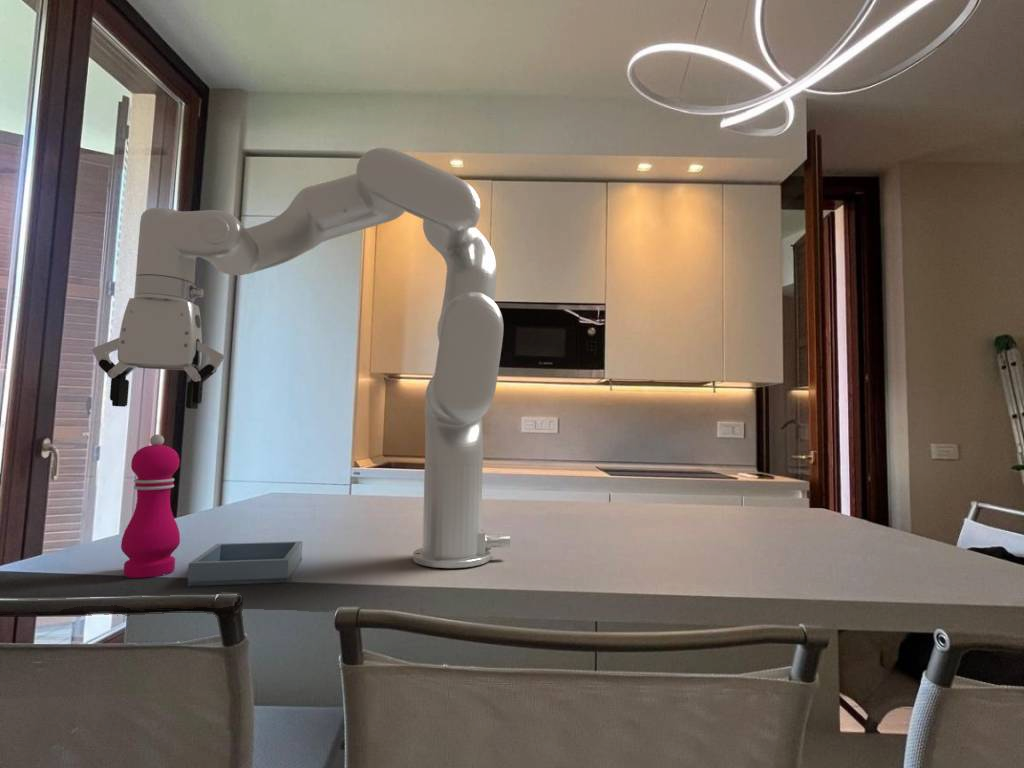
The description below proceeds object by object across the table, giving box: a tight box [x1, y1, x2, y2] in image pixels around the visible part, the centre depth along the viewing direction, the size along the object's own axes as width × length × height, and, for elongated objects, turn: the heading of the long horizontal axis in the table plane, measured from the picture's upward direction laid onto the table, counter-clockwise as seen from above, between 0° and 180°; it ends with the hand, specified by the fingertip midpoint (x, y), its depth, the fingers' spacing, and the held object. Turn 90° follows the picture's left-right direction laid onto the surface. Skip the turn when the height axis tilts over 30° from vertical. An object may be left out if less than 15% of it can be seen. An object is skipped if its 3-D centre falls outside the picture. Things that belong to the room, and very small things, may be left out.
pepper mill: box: [120, 434, 181, 579], centre depth 83 cm, size 7×7×20 cm
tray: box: [187, 540, 303, 587], centre depth 83 cm, size 13×13×3 cm
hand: (156, 407), depth 83 cm, fingers open, 9 cm apart
